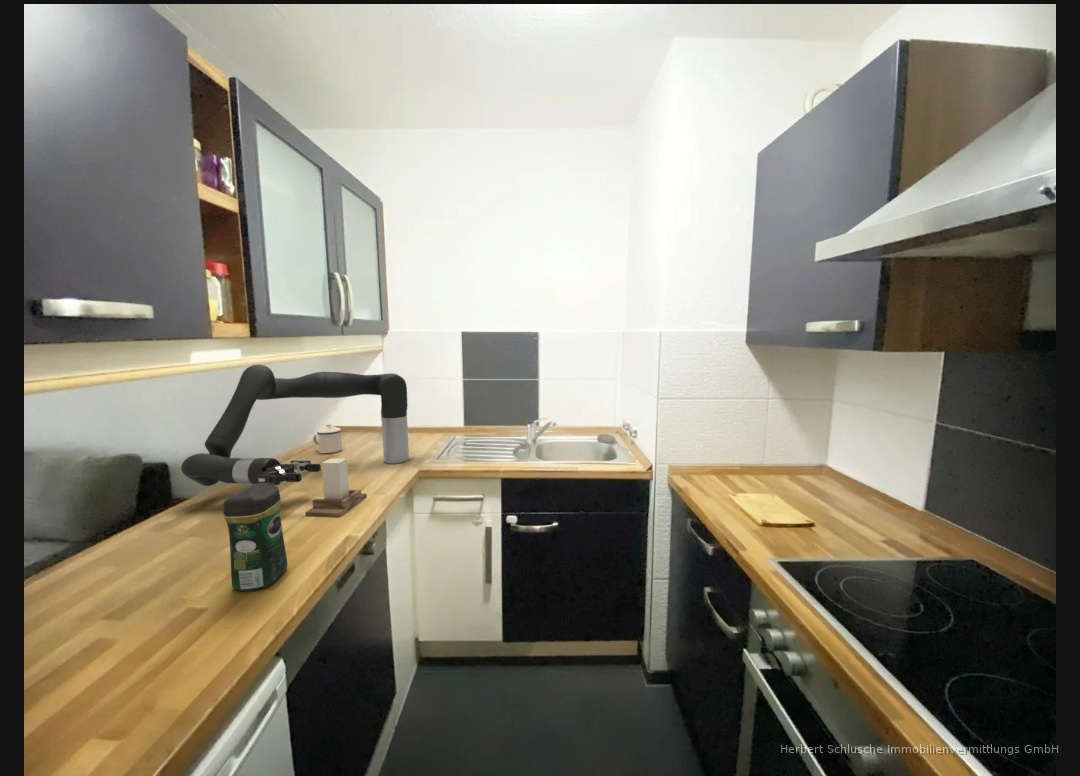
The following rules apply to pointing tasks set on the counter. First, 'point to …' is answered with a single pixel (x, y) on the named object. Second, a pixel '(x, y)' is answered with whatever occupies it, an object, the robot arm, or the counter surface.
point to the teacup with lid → (328, 439)
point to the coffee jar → (255, 536)
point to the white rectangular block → (335, 479)
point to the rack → (335, 505)
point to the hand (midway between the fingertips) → (310, 472)
